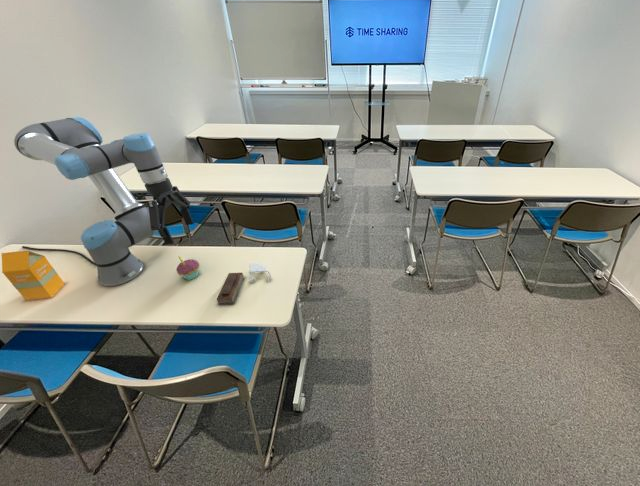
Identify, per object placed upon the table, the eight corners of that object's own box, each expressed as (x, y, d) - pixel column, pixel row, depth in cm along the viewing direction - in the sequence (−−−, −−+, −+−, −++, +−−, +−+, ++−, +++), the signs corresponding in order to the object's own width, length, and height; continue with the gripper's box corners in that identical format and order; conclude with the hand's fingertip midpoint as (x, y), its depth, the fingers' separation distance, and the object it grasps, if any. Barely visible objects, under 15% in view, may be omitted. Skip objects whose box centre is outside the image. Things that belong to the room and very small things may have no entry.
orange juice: (51, 297, 113) (19, 257, 103) (25, 300, 112) (-10, 260, 101) (65, 283, 120) (36, 244, 109) (40, 286, 118) (9, 246, 108)
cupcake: (193, 284, 118) (183, 261, 112) (175, 281, 120) (164, 258, 114) (206, 270, 126) (198, 247, 119) (189, 267, 127) (180, 245, 121)
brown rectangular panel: (233, 304, 109) (231, 296, 107) (218, 304, 109) (215, 296, 107) (244, 278, 121) (241, 270, 119) (230, 278, 121) (228, 271, 119)
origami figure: (242, 283, 119) (239, 273, 116) (251, 269, 126) (249, 260, 123) (269, 286, 117) (267, 277, 114) (278, 272, 124) (276, 263, 121)
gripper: (142, 194, 88) (170, 252, 98) (186, 167, 110) (206, 216, 120) (118, 196, 89) (149, 253, 99) (167, 169, 111) (188, 218, 121)
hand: (180, 233), depth 110 cm, fingers open, 13 cm apart
